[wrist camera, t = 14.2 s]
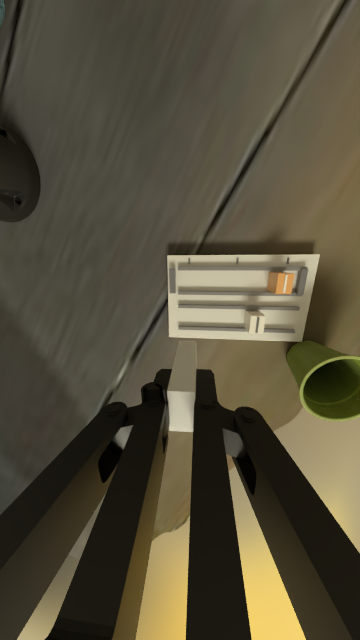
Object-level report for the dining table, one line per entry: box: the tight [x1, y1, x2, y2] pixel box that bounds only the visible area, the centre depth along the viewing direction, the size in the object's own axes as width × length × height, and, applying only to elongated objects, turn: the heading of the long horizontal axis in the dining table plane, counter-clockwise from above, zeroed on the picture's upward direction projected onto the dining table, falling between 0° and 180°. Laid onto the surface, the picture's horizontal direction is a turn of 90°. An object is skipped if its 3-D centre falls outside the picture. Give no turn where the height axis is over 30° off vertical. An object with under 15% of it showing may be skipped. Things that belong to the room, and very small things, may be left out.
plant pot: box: [287, 341, 360, 421], centre depth 34 cm, size 12×12×11 cm
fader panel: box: [167, 254, 320, 342], centre depth 34 cm, size 16×26×6 cm, turn 90°
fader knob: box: [267, 272, 295, 294], centre depth 32 cm, size 3×2×4 cm
